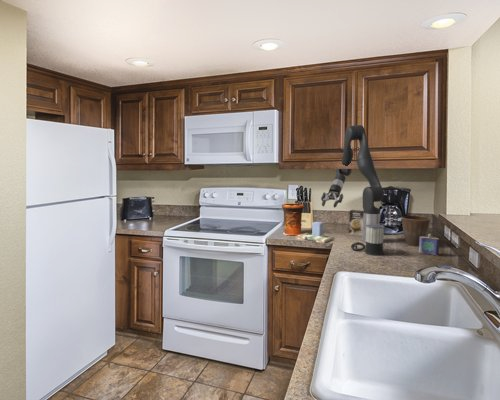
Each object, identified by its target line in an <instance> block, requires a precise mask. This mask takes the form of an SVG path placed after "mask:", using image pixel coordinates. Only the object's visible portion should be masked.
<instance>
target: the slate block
mask: <svg viewBox="0 0 500 400" xmlns="http://www.w3.org/2000/svg"><path fill="white" fill-rule="evenodd" d="M311 225H312V226H311V228H312V229H311V235H313V236H322V235H324V222H320V221H314V222H312V223H311Z"/></svg>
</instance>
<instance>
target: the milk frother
mask: <svg viewBox="0 0 500 400" xmlns="http://www.w3.org/2000/svg"><path fill="white" fill-rule="evenodd" d="M366 226H367V230H366V242H365V243H363V242H359V241H357V242H354V243H352V244H351V246H350V248H351V250H354V251H357V252H360V251H364V250H365V251H364V253H365V254H367V255H372V256H383V255H384V235H385V233H384V231H385V225H383V224H379V225H377V224H369V225H366ZM358 245H360V246H361V248H358Z"/></svg>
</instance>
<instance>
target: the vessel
mask: <svg viewBox="0 0 500 400" xmlns="http://www.w3.org/2000/svg"><path fill="white" fill-rule="evenodd" d="M281 208H282V212H283V224H284V226H283V227H284V231H283V232H282V233H283V235H288V236H298V235H301V234H303V233H302V218H303V216H302V214H303V210H304V204H301V203H296V202H295V203H283V204H281Z"/></svg>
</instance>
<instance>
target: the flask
mask: <svg viewBox="0 0 500 400" xmlns="http://www.w3.org/2000/svg"><path fill="white" fill-rule="evenodd" d="M439 250H440V239H439V237H435V236H432V234H431V233H428V234H427V236H425V237H420V242H419V246H418V253H419V254H420V253H422V254H421V255H426V254H431V255H430V256H433V255H438V256H439Z"/></svg>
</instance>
